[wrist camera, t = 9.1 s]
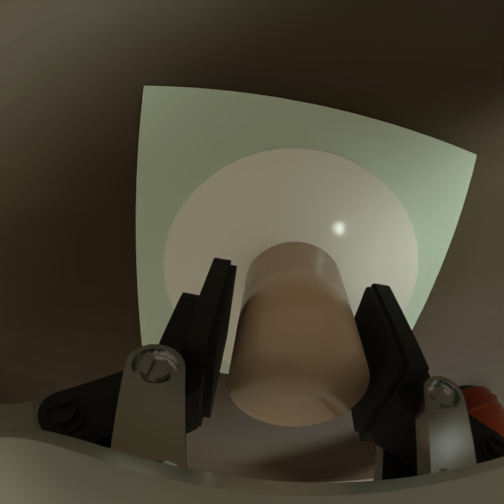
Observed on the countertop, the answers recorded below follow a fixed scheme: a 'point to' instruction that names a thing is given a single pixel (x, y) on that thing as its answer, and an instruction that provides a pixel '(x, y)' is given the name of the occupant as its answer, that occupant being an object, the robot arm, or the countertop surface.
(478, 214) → the countertop surface
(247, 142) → the mat
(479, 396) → the mug
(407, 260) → the lid
